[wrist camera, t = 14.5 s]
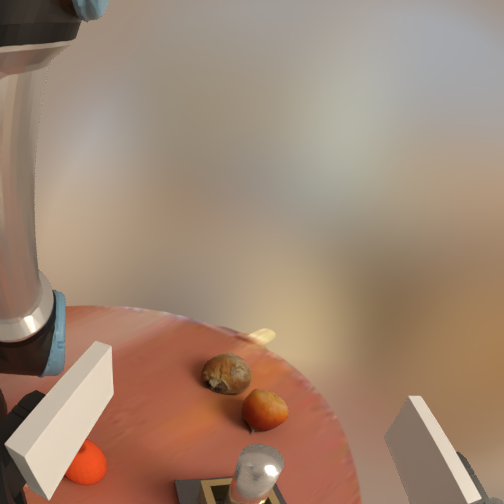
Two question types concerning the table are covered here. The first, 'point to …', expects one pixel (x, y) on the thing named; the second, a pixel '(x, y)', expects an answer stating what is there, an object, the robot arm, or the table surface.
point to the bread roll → (226, 374)
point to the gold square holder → (214, 491)
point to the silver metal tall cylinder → (254, 475)
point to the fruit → (264, 410)
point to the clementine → (87, 465)
